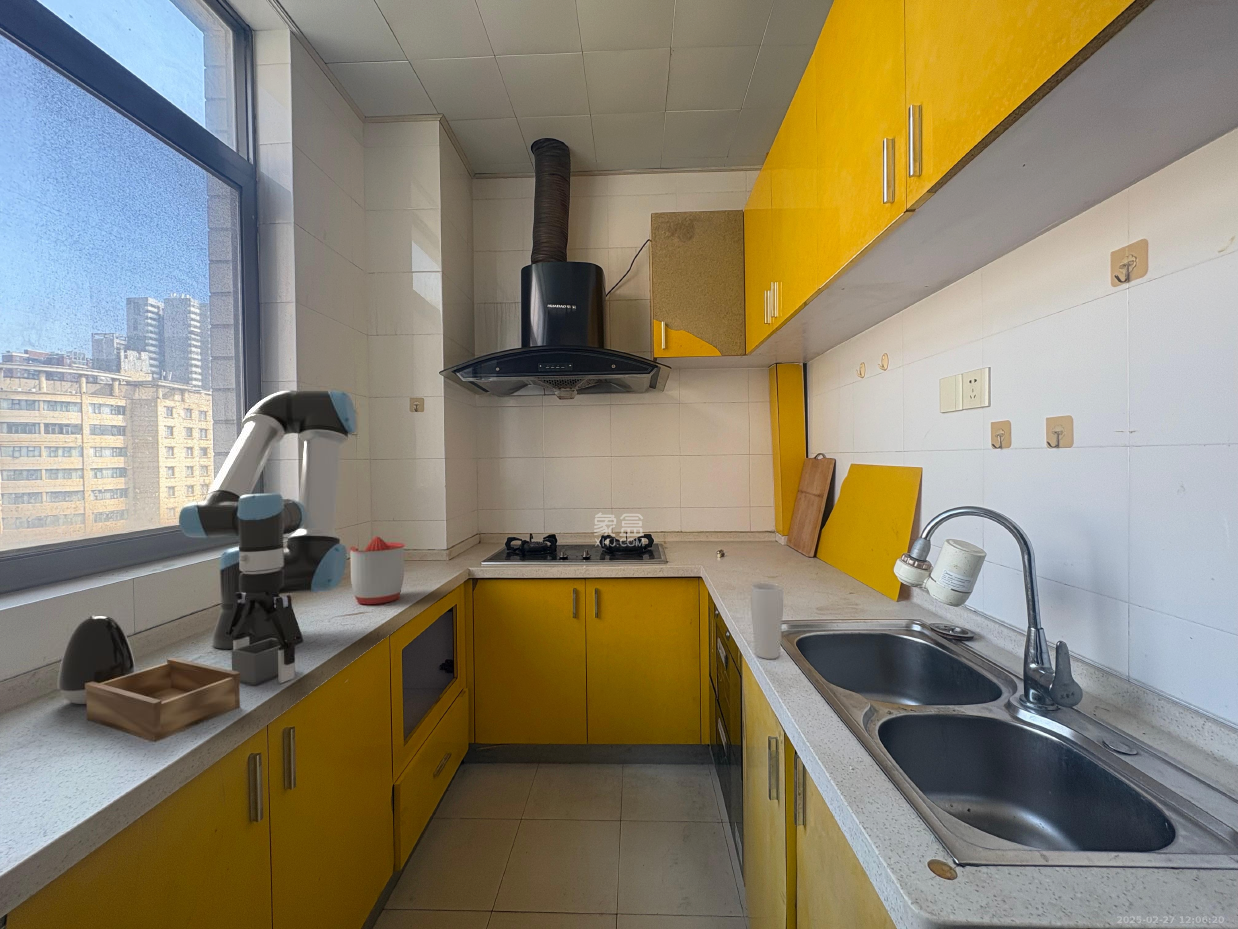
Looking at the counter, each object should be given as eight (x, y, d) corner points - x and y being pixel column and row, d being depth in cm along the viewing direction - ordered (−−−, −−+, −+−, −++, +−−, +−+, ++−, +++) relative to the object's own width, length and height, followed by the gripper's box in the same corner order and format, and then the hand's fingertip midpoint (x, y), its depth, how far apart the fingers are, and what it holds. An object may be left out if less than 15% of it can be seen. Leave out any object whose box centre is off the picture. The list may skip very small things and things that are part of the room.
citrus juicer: (377, 591, 176) (376, 531, 176) (416, 596, 169) (415, 534, 169) (334, 603, 162) (333, 538, 162) (375, 609, 155) (374, 541, 154)
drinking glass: (774, 664, 110) (774, 591, 110) (745, 656, 114) (744, 586, 114) (789, 655, 115) (788, 585, 115) (760, 647, 119) (759, 581, 119)
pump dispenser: (130, 681, 105) (128, 605, 105) (140, 695, 99) (138, 614, 99) (55, 700, 97) (53, 617, 97) (61, 716, 91) (59, 628, 91)
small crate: (272, 666, 112) (271, 637, 112) (294, 670, 110) (294, 641, 110) (232, 680, 105) (231, 650, 105) (255, 686, 102) (254, 655, 102)
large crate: (173, 689, 101) (173, 657, 101) (241, 706, 94) (240, 672, 94) (85, 719, 90) (84, 683, 90) (154, 742, 82) (153, 703, 82)
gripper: (203, 569, 108) (204, 673, 108) (285, 578, 99) (287, 692, 99) (241, 563, 115) (242, 660, 115) (322, 570, 106) (323, 677, 106)
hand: (263, 675), depth 107 cm, fingers open, 13 cm apart
